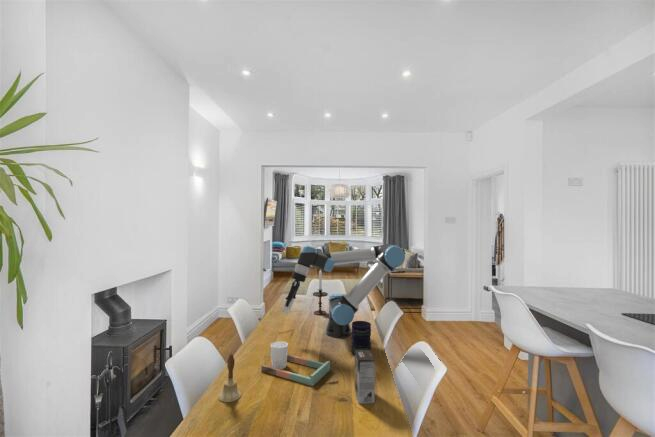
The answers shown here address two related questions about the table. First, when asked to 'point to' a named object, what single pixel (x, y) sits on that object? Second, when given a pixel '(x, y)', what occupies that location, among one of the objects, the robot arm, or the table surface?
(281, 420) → the table surface
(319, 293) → the candlestick
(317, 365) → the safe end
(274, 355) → the white cup
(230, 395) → the hand bell
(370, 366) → the coffee box
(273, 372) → the lane walls
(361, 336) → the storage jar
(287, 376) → the walls
